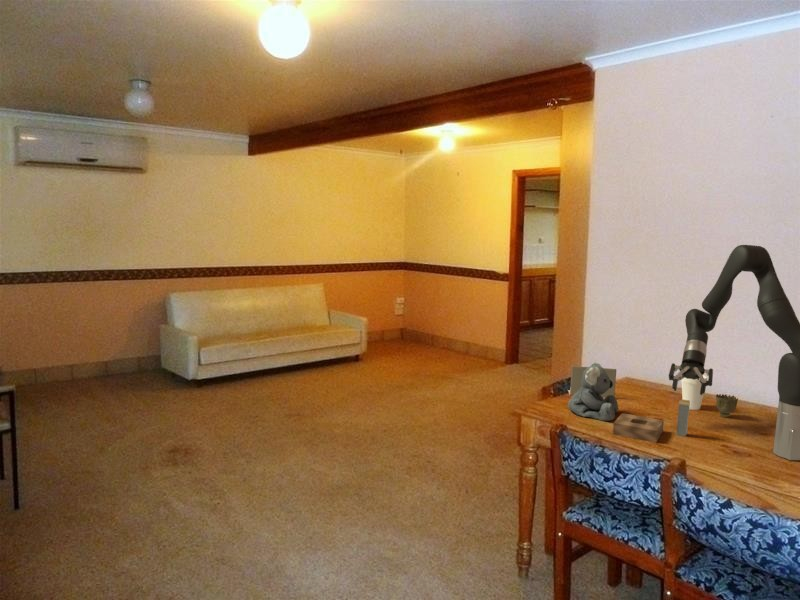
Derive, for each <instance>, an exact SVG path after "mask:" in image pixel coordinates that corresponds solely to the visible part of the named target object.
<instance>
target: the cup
mask: <svg viewBox="0 0 800 600" xmlns="http://www.w3.org/2000/svg"><path fill="white" fill-rule="evenodd" d="M715 397H716V398H715V399H716V409H717V411H718V412H720V413H719V414H720V417H723V418H730V417H731V416H732V414H733V413H734V412H735V411H736V408H737V404H738V401H739V397H737V396H735V395H731V394H729V395H728V394H726V393H725V394H724V393H722V394H720V393H719V394H718V393H717V394H715Z"/></svg>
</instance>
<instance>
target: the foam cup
mask: <svg viewBox="0 0 800 600" xmlns="http://www.w3.org/2000/svg"><path fill="white" fill-rule="evenodd" d="M702 376H703V378H704V379H705V380H706V381H708V377H707V375H705V374H703V375H702ZM680 381H681V394H682V396H681V397H682V398H681V399H683V400H689V401H690V405H689V410H695V411H698V410H700V409H701V407H702V406H701V405H702V402H703V398H704V394H705V393H704V394H702V395H700V389H701V383H700V382H699V381H698V380H697V379H695V380H694V379H687V378H683V379H682V380H680Z"/></svg>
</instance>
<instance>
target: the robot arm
mask: <svg viewBox="0 0 800 600" xmlns="http://www.w3.org/2000/svg"><path fill="white" fill-rule="evenodd" d="M741 272H749V273H750V272H751V273H752V274H753V275H754V276H755V279H756V281H757V283H758V286H759V288H758V289H759V290H758V295H757V299H756V306H757V309H758V311H759V314H760V316H761V319H762V320H763V322H764V324H765V326H767V327H768V328H769V330H771V331H772V333H774V334H776V335H777V336H778V337H779V338H780V339H781V340H782V341H783V342H784V343H785V344H786V345H787V346H788V348H789V350H790V351H791V352H786V353H785V354H783V355H782V356H781V358H780V360H779V363H778V372H777V392H778V405H777V412H776V413H777V414H776V415H777V416H776V423H775V424H776V425H775V432H774V434H775V435H774V440H773V441H774V444H773V450H772V451H773V454H774V455H776V456H778V457H780V458H783V459H787V460H789V461H800V320H799V319H798V317H797V315H796V312H795V310H794V308H793V306H792V304H791V302H790V300H789V298H788V295H786V293H785V291H784V288H783V286H782V283H781V281H780V279H779V278H778V275H777V272H776V269H775V266H774V264H773V260H772V257H771V255H770V253H769V251H768V250H767V249H766V247H763V246H761V245H752V244H739V245H737V246H736V247H734V248H733V249H732V251H731V253H730V254H729V256H728V257H727V260H726V262H725V264H724V266H723V268H722V270H721V272H720V275H719V276H718V278H717V280H716V282H715V284H714V286H713V287H711V290H710V291H709V292H708V293H707V295H706V296H705V298H704V299H703V301H702V303H701V307H702V309H703V310H704V311H703V310H701V309H698V308H691V309H689V310H688V311H687V313H686V315H685V321H684V323H685V327H686V333H687V337H686V343H685V345H684V349H683V352H682V353H683V354H682V358H681V364H680V365H676V364H675V363H673V362H672V363H671V366H670V369H669V373H668V380H669V381H672V383H671V384H672V385H671V388H672V389H673V391H675V392H676V391H677V387H678V384H679V383H678V382H680V381H681V380H682V379H683V378H687V379H694V380H695V379H697V380H698V381H699V382H700V383H701V389H700V395H702V394H705V393H706V387H708V386H709V387H712V386H713V375H714V369H713V368H709V369H705V363H706V357H707V349H708V348H707V347H708V341H709V334H708V333H709V332H711V331H713V330H714V328H715V327H716V325H717V324H716V323H717V320H718V318H719V315H720V314H721V311H723V309H724V307H725V306H726V305H727V304H728V303H729V301H730V299H731V297H732V294H733V284H734V280H735V279H736V278H737V277H738V275H739V274H741ZM678 370H679V372H678V373H677V374H675V373H676V372H677V371H678ZM705 374H706V377H707V376H708V378H707V381H706V380H705V379H704V378H703V376H702V375H705Z"/></svg>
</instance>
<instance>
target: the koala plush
mask: <svg viewBox="0 0 800 600" xmlns="http://www.w3.org/2000/svg"><path fill="white" fill-rule="evenodd" d="M587 367H588V368H587V369H586V370H585V371H584V372H583V374H582V381H581V383H582V386H581V388H580V390H579V391H577V393H575V394H574V395H573V396H571V398H570V399H569V400H568V402H567V403H568V404H567V406H568V409H569V410H570V412H573V414H574V413H575V414H576V415H577V416H580V417H583V418H586V417H588V418H592V419H593V420H597V421H603V422H604V421H605V422H611V421H614V419H615V417H616V414H617V413H618V412H619V404H618V401H617V397H616V395H608V396H606V397H605V398H603V397H602V396H601V394H603V393H605V392H606V391H607V390H608V389H609V388H612V386H613V382H612V381H611V380H610V379H609V377H608V375H607V373H606V372H605V370H604V369H603V368H604V367H603V366H601V364H600V362H596V361H595V362H592V363H591V365H590V366H587Z"/></svg>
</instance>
